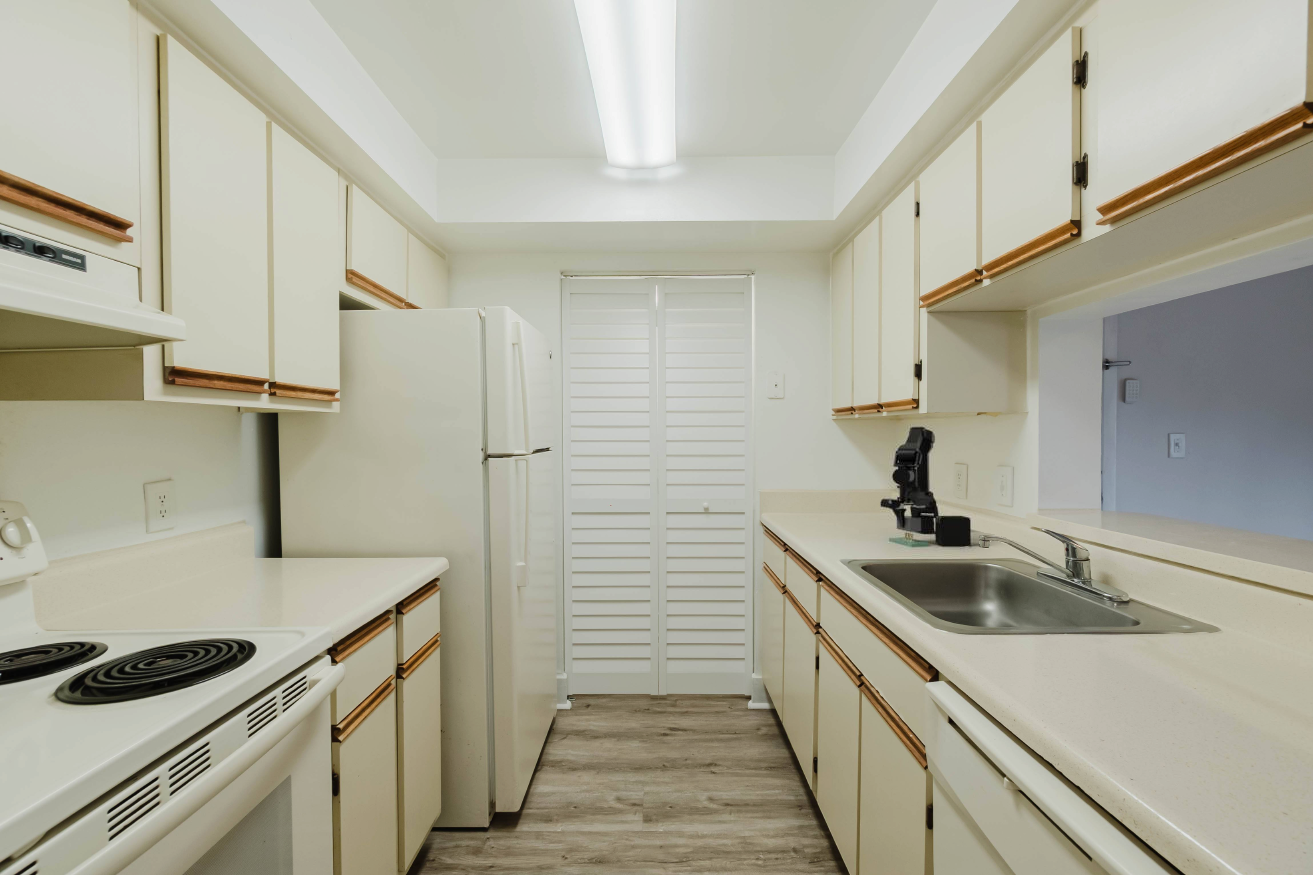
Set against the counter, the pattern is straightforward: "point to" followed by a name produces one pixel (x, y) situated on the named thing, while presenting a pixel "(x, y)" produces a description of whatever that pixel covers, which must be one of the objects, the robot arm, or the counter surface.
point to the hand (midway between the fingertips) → (908, 527)
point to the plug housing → (910, 524)
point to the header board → (909, 541)
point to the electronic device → (952, 531)
